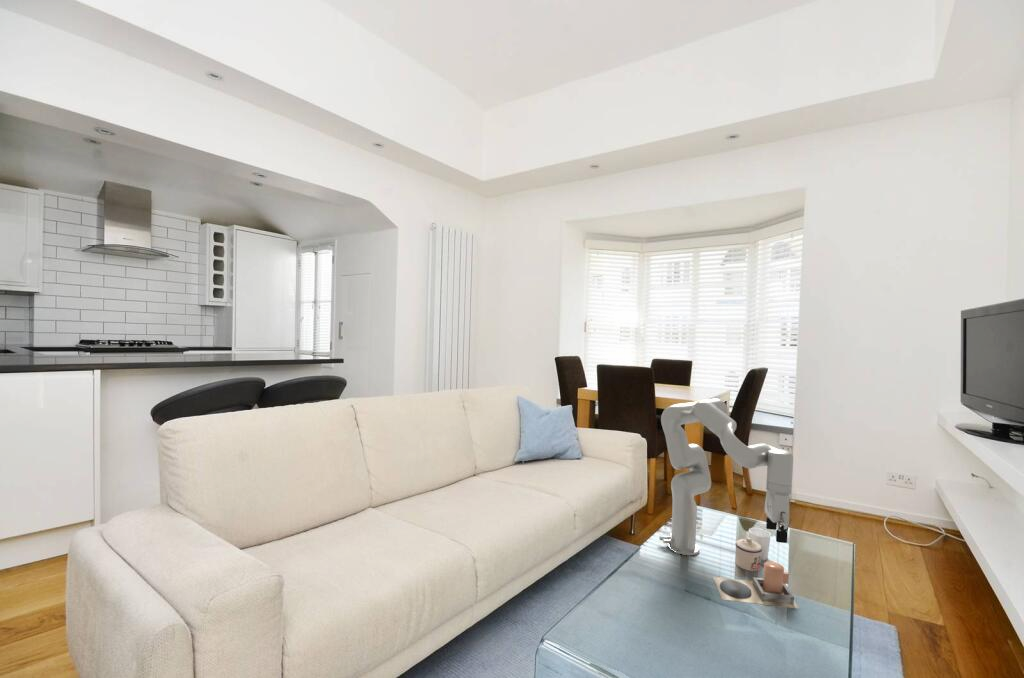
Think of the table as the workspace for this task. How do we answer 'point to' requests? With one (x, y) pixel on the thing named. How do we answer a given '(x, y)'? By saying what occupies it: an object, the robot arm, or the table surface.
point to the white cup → (761, 540)
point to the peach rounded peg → (774, 578)
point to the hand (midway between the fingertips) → (776, 535)
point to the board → (753, 592)
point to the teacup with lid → (748, 554)
